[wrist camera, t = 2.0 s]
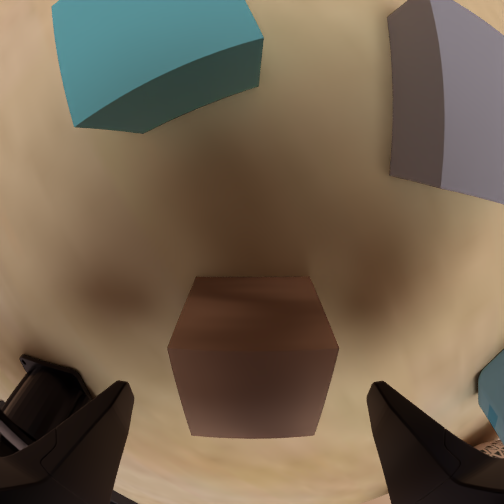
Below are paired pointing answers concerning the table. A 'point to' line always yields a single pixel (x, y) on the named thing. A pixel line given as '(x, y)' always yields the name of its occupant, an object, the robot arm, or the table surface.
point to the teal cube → (152, 58)
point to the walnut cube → (253, 357)
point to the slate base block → (447, 98)
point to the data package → (493, 393)
